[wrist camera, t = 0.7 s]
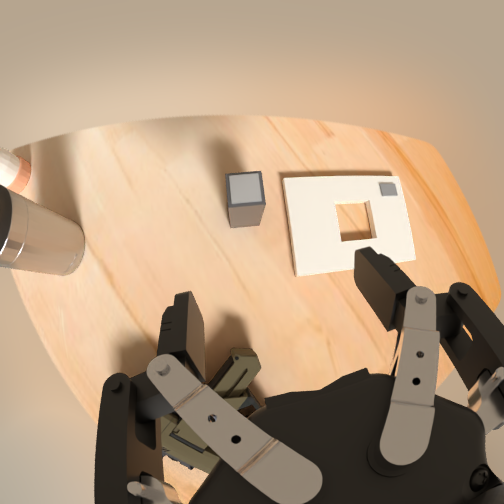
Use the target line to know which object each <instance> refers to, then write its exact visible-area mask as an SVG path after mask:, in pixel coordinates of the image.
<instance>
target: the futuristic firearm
mask: <svg viewBox="0 0 504 504" xmlns="http://www.w3.org/2000/svg"><path fill="white" fill-rule="evenodd" d="M230 353H231V356H230V357H229V358H228V360H227V361H226V362H225V363H224V365H223V366H222V367H221V369H220V370H219V371H218V373H217V374H216V375H215V377H214V378H213V379H212V381H211V382H210V383H209V384H208V385H207V386H209V387H210V388H211V389H212V390H213V391H214V392H216V393H217V394H218V395H219V396H220V397H221V398H222V399H224V400H225V401H226V402H227V403H228V404H230V405H231V406H232V407H233V408H234V409H236V410H239V409H242V408H244V407H247V406H250V405H253V406H254V408H255V409H256V410H258V409H259V408H261V405H260V404H259V403H258V401H257V400H256V398H255V397H254V396H253V394H252V393H251V391H250V390H249V389H248V387H247V386H248V385H249V384H250V382H251V381H252V380H253V379H254V377H255V376H256V375H257V373H258V372H259V371H260V369H261V365H260V362H259V359H258V356H257V354H256V353H255V352H254V351H253V350H252V349H240V348H232V349H231V351H230ZM161 442H162V458H163V457H164V456H165V455H168V457H169V458H171V459H172V460H174V461H179V462H180V464H182V465H184V466H186V467H188V469H190V470H192V469H193V468H194V467H195V468H197V469H200V470H202V471H204V472H206V473H209V474H210V472H211V471H212V469H213V468H214V466H215V465H216V463H217V462H218V460H219V459H220V456H219V455H218V454H217V453H216V452H215V451H214V450H213V449H212V448H211V447H209V446H208V445H207V444H206V443H205V442H204V441H203V440H202V439H201V438H200V437H199V436H198V435H197V434H196V433H195V432H194V430H193V429H192V428H191V427H190V426H189V425H188V424H187V423H186V422H185V421H184V420H183V419H182V418H181V417H180V415H179V414H178V413H177V412H176V411H174V412H172V413H169V414H167V415H165V416H162V417H161Z"/></svg>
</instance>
